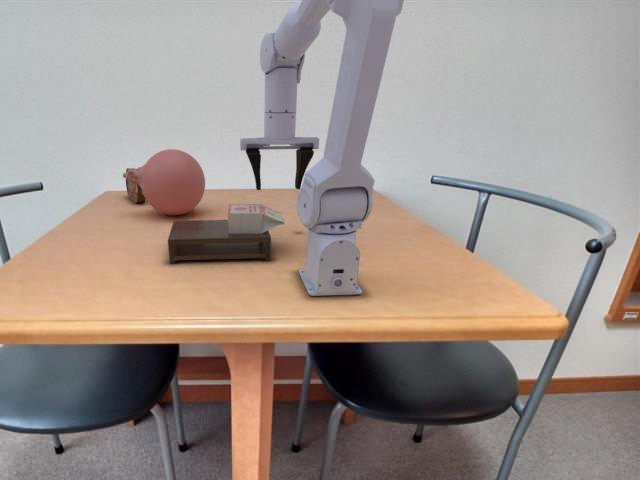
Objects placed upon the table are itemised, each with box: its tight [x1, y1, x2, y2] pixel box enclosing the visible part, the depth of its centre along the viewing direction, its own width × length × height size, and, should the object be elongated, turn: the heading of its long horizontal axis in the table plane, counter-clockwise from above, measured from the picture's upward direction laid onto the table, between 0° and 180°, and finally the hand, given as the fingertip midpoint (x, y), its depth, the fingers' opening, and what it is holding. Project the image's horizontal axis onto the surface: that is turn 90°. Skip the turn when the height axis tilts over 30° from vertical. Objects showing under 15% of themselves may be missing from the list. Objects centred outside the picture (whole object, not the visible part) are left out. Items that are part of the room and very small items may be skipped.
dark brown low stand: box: [167, 219, 272, 265], centre depth 82 cm, size 12×18×4 cm, turn 93°
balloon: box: [122, 148, 206, 216], centre depth 105 cm, size 15×20×15 cm
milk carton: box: [227, 203, 285, 234], centre depth 80 cm, size 4×7×10 cm
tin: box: [125, 167, 147, 204], centre depth 121 cm, size 15×3×8 cm, turn 25°
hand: (278, 188), depth 84 cm, fingers open, 7 cm apart
